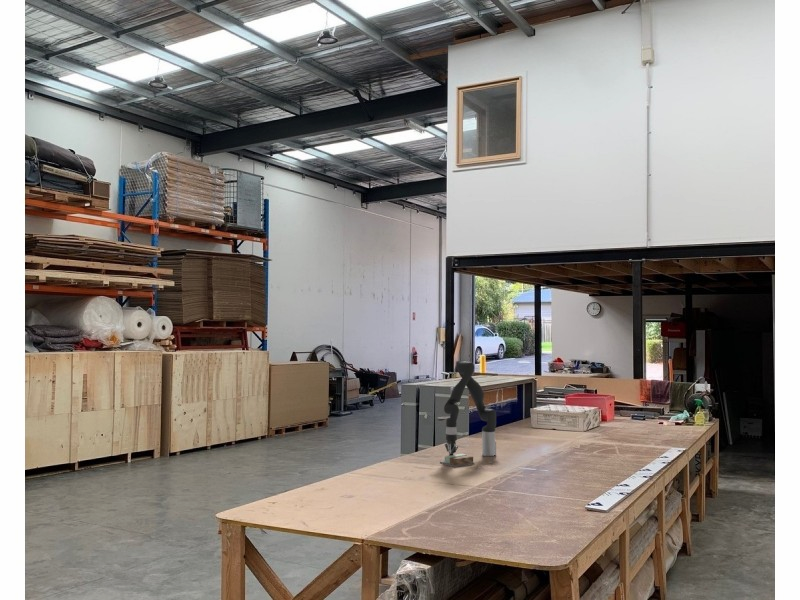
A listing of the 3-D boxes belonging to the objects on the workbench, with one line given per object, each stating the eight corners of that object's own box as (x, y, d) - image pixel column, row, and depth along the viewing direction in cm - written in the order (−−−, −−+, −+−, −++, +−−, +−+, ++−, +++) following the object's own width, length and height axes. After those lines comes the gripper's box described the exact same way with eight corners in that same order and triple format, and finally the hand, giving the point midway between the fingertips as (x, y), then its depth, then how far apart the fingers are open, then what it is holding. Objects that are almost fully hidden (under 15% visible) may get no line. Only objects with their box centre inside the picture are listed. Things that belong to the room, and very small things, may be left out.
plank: (461, 459, 452) (461, 453, 453) (466, 460, 449) (466, 454, 449) (444, 462, 442) (444, 456, 443) (449, 463, 438) (449, 457, 439)
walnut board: (468, 461, 446) (468, 455, 446) (473, 462, 442) (473, 456, 442) (449, 463, 438) (449, 457, 438) (454, 465, 433) (454, 459, 434)
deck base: (461, 460, 455) (461, 458, 455) (474, 464, 442) (474, 462, 442) (439, 462, 446) (439, 461, 446) (452, 466, 433) (452, 465, 433)
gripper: (461, 434, 446) (461, 459, 446) (450, 431, 458) (450, 456, 457) (452, 435, 443) (452, 461, 442) (441, 432, 454) (441, 457, 453)
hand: (451, 458), depth 449 cm, fingers closed
